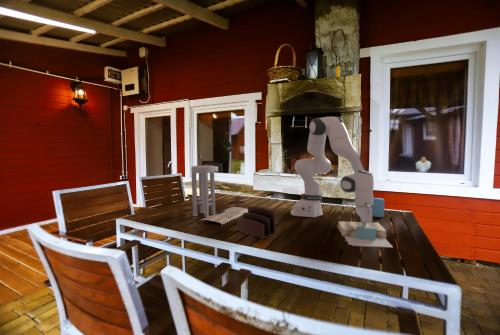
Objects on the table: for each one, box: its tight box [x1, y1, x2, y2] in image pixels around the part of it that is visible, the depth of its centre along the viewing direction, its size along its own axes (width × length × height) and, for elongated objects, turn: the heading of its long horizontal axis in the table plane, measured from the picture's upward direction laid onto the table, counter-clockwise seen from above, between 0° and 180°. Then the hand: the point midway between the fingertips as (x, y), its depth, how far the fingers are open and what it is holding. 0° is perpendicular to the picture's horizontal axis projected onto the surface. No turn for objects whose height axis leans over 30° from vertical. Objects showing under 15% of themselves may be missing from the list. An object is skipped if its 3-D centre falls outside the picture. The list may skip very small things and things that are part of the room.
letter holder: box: [237, 206, 276, 239], centre depth 151 cm, size 10×20×14 cm, turn 48°
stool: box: [190, 164, 216, 217], centre depth 187 cm, size 16×16×35 cm
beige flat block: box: [337, 220, 387, 239], centre depth 149 cm, size 22×14×4 cm, turn 80°
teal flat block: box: [356, 227, 376, 240], centre depth 139 cm, size 9×6×2 cm
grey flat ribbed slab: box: [199, 206, 248, 226], centre depth 185 cm, size 37×19×3 cm, turn 151°
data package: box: [370, 197, 385, 218], centre depth 182 cm, size 12×4×12 cm, turn 63°
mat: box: [344, 236, 394, 249], centre depth 135 cm, size 20×12×1 cm, turn 80°
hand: (363, 226), depth 144 cm, fingers closed
